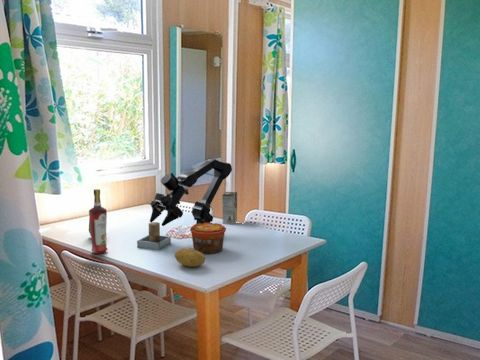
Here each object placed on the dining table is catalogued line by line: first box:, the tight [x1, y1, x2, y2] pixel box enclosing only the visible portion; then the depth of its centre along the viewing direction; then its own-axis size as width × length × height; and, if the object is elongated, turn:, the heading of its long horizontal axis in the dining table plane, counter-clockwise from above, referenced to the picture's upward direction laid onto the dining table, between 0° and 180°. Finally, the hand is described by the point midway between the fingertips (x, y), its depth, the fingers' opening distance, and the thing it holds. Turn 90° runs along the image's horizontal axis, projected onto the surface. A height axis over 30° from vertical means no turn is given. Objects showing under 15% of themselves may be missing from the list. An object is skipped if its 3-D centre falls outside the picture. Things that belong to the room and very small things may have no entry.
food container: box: [189, 222, 227, 255], centre depth 217 cm, size 16×16×11 cm
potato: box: [174, 247, 206, 268], centre depth 197 cm, size 9×13×7 cm
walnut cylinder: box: [148, 221, 161, 243], centre depth 224 cm, size 5×5×10 cm
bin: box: [136, 234, 172, 251], centre depth 224 cm, size 11×11×3 cm
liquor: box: [88, 188, 108, 255], centre depth 211 cm, size 7×7×28 cm
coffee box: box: [222, 191, 238, 225], centre depth 266 cm, size 9×6×16 cm
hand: (156, 223), depth 224 cm, fingers open, 9 cm apart
